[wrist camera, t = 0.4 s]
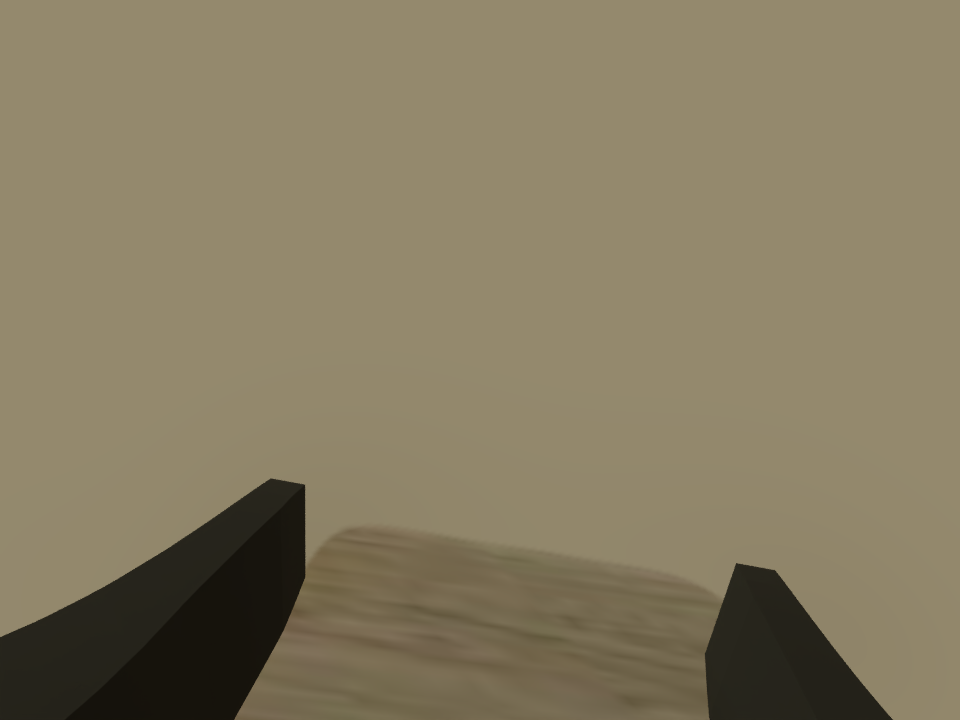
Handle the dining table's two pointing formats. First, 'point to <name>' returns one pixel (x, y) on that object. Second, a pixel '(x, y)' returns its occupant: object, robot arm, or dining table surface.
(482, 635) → the dining table surface
